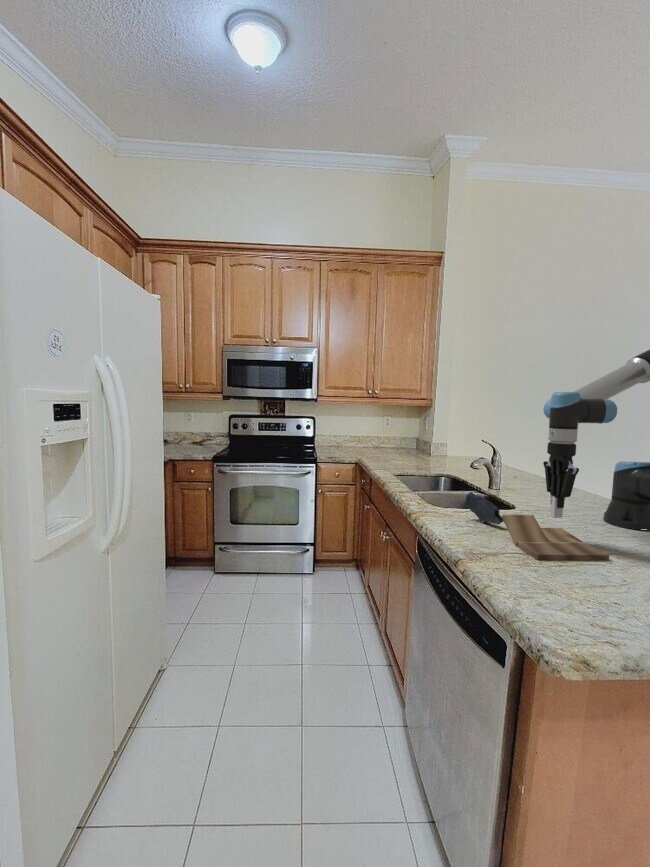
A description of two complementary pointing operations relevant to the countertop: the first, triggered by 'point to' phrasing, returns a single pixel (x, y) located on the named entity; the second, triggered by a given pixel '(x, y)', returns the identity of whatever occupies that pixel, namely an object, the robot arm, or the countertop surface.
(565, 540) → the plank
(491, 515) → the stone
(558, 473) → the robot arm
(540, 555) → the floor board
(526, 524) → the plank
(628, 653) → the countertop surface
